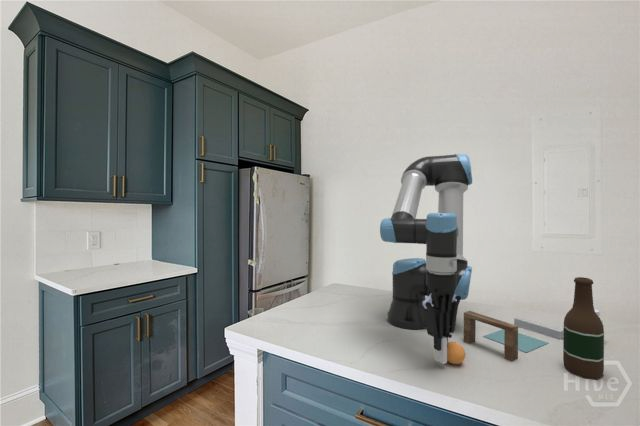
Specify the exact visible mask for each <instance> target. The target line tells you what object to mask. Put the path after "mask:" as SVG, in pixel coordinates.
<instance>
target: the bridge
mask: <svg viewBox="0 0 640 426" xmlns="http://www.w3.org/2000/svg"><path fill="white" fill-rule="evenodd" d="M476 321H477V322H481V323H484V324H486V325H489V326H492V327H495V328H497V329H500V330H505V332H504V344H503V346H504V347H503V348H504V351H503V352H504V354H503V355H504V358H503V359H504V360H507V361H509V362H515V361H517V360H518V359H519V350H518V333H519V327H518V326H517V325H514V323H509V322H507V321H503V320H500V319H497V318H494V317H491V316H487V315H484V314H481V313H478V312H474V311H471V310H468V311H465V312H464V311H463V342H464V343H466V344H469V345H470V344H474V343H476Z"/></svg>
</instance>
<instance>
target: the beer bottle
mask: <svg viewBox="0 0 640 426" xmlns="http://www.w3.org/2000/svg"><path fill="white" fill-rule="evenodd" d="M573 282H574V292H573V293H574V294H573V304H572V307H571V309H570V310H569V311H567V313H566V314H565V316H564V319H563V339H562V340H563V341H562V342H563V351H562V352H563V353H562V356H563V357H562V359H563V366H564V368H565V369H566V371H568V372H569V373H571V374H572V375H574V376H575V375H576V376H578V377H580V378H583V379H589V380H595V381H597V380H599V379H601V378H603V377H604V369H605V366H604V364H605V362H604V361H605V330H604V324H602V322H603V320H602V321H601V319H602V318H601V317H600V315H599V316H598V315H597V314H596V313H595V310H594V309H595V307H594V296H593V284H594V281H593V279H591V278H589V277H582V276H579V277H578V276H577V277H574V279H573ZM600 318H601V319H600Z"/></svg>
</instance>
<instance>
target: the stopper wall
mask: <svg viewBox="0 0 640 426" xmlns="http://www.w3.org/2000/svg"><path fill="white" fill-rule="evenodd" d="M513 319H514V321H513V325H517V326H518V328H520V329H521V328H522V329H525V330H529V331H532V332H534V333H538V334H541V335H545V336H547V337H549V338H550V337H551V338H552V339H553V338H554V339H557V340H563V330H562V329H559V328H555V327H552V326H548V325H545V324H541V323H538V322H534V321H531V320H527V319H525V318H520V317H515V318H513Z"/></svg>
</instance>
